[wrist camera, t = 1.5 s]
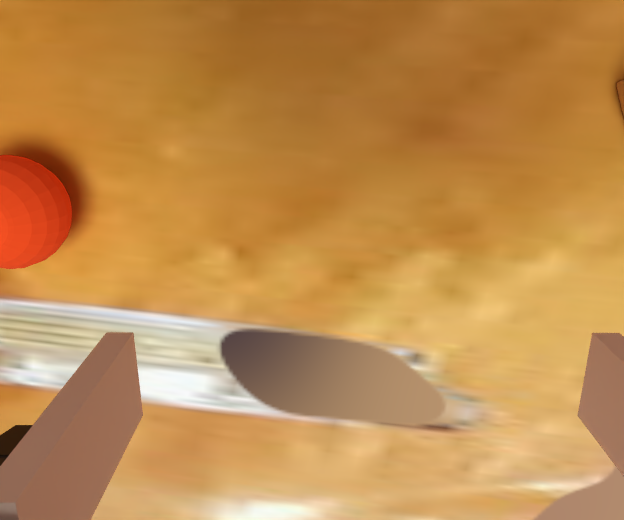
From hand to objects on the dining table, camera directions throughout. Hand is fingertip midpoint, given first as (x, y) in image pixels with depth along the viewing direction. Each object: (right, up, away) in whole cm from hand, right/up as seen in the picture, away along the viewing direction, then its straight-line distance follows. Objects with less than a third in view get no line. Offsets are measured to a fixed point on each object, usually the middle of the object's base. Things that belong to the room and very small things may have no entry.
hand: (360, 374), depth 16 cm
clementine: (-20, +7, +22) cm, 30 cm away
